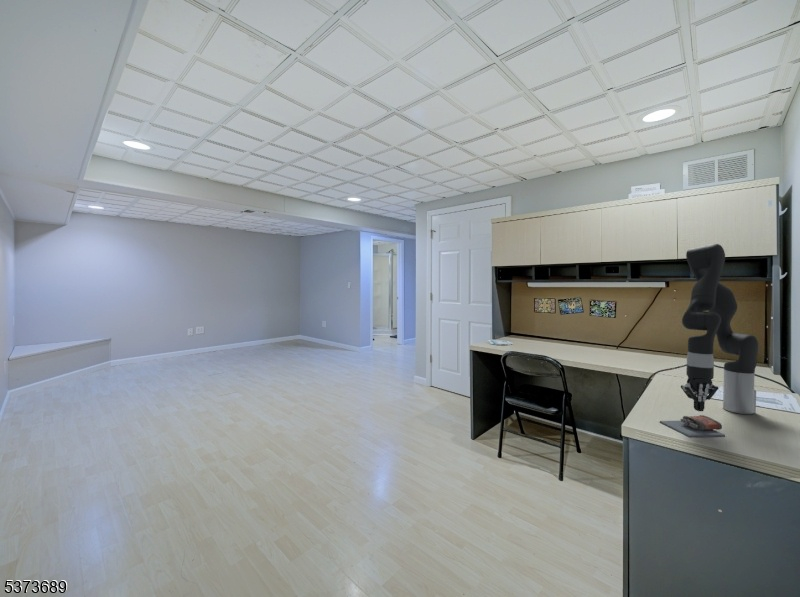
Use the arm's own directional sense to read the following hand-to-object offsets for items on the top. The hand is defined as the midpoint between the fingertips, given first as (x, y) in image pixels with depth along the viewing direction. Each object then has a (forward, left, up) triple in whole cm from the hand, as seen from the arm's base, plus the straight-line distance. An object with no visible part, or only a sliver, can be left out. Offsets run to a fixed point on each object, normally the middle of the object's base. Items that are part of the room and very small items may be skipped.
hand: (698, 410), depth 124 cm
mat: (+3, 0, -7) cm, 8 cm away
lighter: (-5, -1, -5) cm, 7 cm away
